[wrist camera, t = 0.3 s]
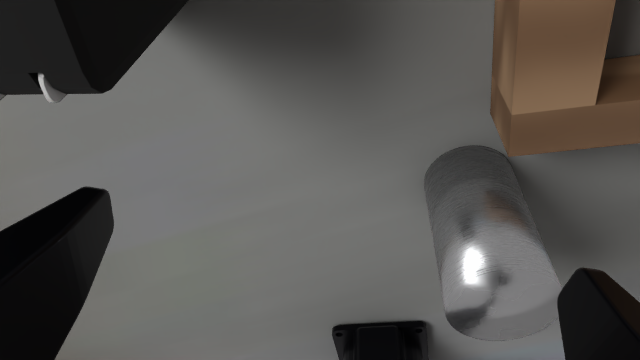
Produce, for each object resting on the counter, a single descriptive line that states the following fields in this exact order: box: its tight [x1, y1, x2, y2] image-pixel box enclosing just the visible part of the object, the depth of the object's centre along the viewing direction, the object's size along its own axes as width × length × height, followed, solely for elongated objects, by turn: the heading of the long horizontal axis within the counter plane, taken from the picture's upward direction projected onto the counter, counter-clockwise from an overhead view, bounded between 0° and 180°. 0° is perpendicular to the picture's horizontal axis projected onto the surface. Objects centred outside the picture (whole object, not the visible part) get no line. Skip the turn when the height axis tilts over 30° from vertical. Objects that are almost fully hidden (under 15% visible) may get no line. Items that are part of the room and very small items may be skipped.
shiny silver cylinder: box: [424, 146, 562, 341], centre depth 22 cm, size 4×4×8 cm
